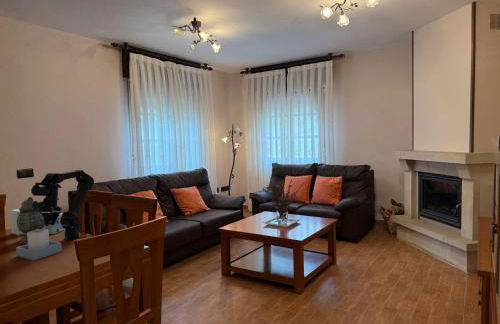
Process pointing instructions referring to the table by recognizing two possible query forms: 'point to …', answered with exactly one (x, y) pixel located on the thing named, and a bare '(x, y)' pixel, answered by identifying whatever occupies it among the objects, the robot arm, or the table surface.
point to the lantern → (29, 219)
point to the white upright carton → (38, 239)
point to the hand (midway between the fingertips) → (49, 225)
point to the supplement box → (15, 222)
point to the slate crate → (38, 251)
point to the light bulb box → (55, 226)
